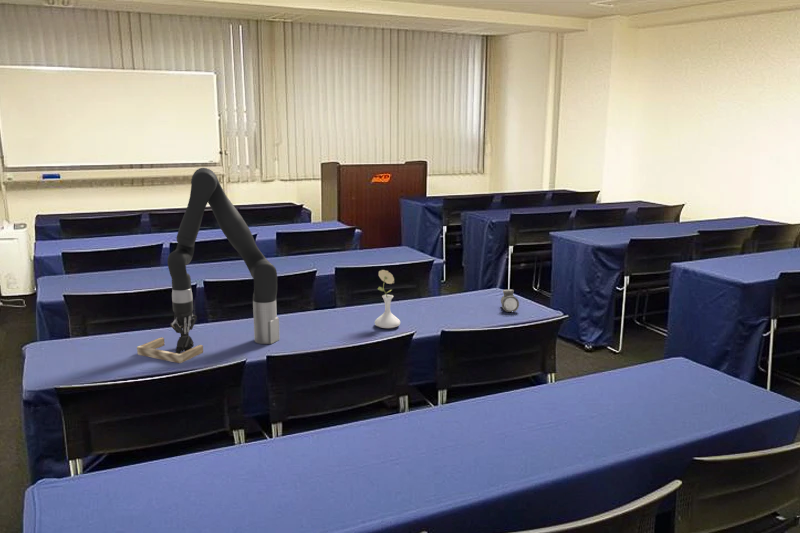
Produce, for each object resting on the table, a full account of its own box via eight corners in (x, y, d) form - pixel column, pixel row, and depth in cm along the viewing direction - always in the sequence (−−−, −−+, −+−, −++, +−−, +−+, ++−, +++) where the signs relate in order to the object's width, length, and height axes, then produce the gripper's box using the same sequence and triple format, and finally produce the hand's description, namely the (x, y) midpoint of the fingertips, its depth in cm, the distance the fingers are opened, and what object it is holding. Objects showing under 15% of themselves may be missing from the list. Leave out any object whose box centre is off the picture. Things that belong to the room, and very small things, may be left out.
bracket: (203, 352, 248) (202, 345, 247) (180, 363, 237) (179, 355, 236) (161, 344, 256) (161, 337, 256) (137, 354, 245) (136, 347, 244)
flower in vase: (405, 327, 281) (406, 272, 275) (383, 332, 274) (384, 275, 269) (389, 319, 291) (389, 266, 286) (367, 324, 285) (367, 269, 279)
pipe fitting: (519, 312, 303) (518, 291, 302) (502, 313, 304) (501, 292, 302) (515, 308, 315) (514, 287, 314) (499, 309, 316) (498, 288, 314)
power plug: (167, 358, 240) (177, 331, 248) (173, 369, 245) (183, 343, 254) (181, 359, 239) (191, 332, 247) (188, 370, 245) (197, 343, 253)
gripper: (177, 305, 242) (180, 348, 246) (201, 296, 254) (204, 338, 258) (162, 302, 245) (165, 345, 249) (187, 294, 257) (189, 335, 261)
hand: (185, 341), depth 254 cm, fingers closed
